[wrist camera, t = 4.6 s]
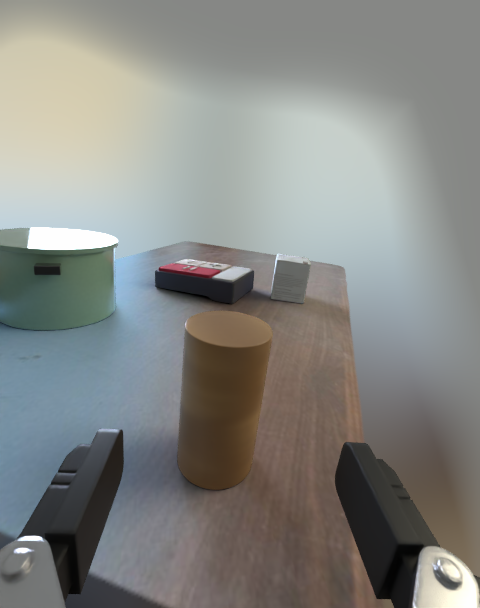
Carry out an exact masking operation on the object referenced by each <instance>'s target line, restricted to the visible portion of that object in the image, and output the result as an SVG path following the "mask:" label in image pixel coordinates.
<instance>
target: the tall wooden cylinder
mask: <svg viewBox="0 0 480 608" xmlns="http://www.w3.org/2000/svg"><path fill="white" fill-rule="evenodd" d="M272 336H273V331H272V329H271V327H270V326H269V325H268V324H267V323H265V322H264V321H262V320H261V319H259V318H256V317H254V316H251V315H248V314H244V313H239V312H233V311H208V312H202V313H199V314H196V315H193V316H192V317H190V318H189V319H188V320H187V321H186V323H185V334H184V351H183V368H182V385H181V402H180V420H179V437H178V454H177V462H178V466H179V469H180V471H181V473H182V474H183V475H184V477H185V478H186V479H187V480H189V481H190V482H191V483H193V484H195V485H196V486H199V487H201V488H205V489H211V490H221V489H227V488H230V487H233V486H235V485H237V484H238V483H240V482H241V481H242V480H244V479H245V477H246V476H247V475H248V473H249V472H250V469H251V466H252V460H253V454H254V448H255V442H256V435H257V429H258V423H259V417H260V411H261V404H262V398H263V392H264V386H265V379H266V373H267V367H268V361H269V355H270V348H271V342H272Z"/></svg>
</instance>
